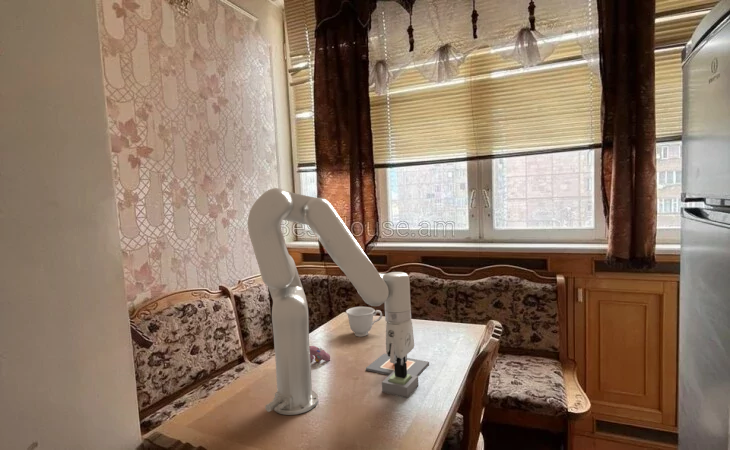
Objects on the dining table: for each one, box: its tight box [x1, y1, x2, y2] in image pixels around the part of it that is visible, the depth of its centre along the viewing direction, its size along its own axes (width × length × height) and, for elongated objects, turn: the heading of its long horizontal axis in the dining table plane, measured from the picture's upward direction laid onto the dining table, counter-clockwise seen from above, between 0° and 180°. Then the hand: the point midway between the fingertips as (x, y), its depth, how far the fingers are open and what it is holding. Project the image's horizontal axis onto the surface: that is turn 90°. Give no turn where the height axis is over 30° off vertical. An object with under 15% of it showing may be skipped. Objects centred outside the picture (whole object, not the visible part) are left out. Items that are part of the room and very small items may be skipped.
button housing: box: [381, 371, 419, 399], centre depth 116 cm, size 8×8×3 cm
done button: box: [389, 373, 411, 385], centre depth 116 cm, size 5×5×2 cm
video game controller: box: [309, 345, 331, 363], centre depth 138 cm, size 10×5×7 cm, turn 64°
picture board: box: [365, 353, 430, 377], centre depth 131 cm, size 13×17×1 cm
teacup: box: [345, 306, 383, 338], centre depth 163 cm, size 12×15×10 cm
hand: (401, 376), depth 116 cm, fingers closed
